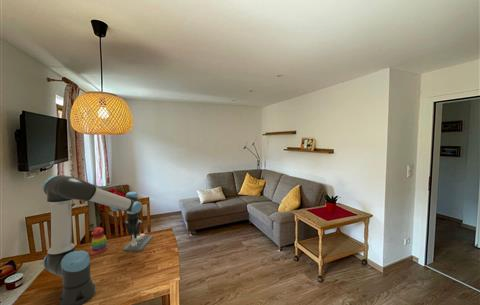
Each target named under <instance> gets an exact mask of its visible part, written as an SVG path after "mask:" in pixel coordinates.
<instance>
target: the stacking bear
mask: <svg viewBox="0 0 480 305" xmlns="http://www.w3.org/2000/svg"><path fill="white" fill-rule="evenodd" d="M91 236H92V239H91V242H90V243H91V244H90V245H91V251H90V252H89V256H95V255H99V254H102V253H104V252H105V251H107V249H108V248H107V236H106V235H105V234H104V228H103V227H100V226H97V227H95V228H94V230H93V231H92V232H91Z"/></svg>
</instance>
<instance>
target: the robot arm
mask: <svg viewBox="0 0 480 305" xmlns="http://www.w3.org/2000/svg"><path fill="white" fill-rule="evenodd" d="M42 190H43V192H44V193H45V195H46V202H47V203H48V204H50V248H49V249H48V250H47V253H46V255H45V256H44V258H43V261H42V266H43V268H44V269H45V270H46V271H47V272H48V273H51V274H53V275H56V276H58V277H60V278H62V290H61V291H62V292H61V294H60V297H59V305H83V304H85V303H86V302H88V301H89V300H90V299H92V298H93V297H94V295H95V294H96V285H95V283H94V282H93V279H92V274H91V273H92V272H91V258H90V253H89V252H87V251H86V250H81V249H80V250H76V244H74V243H72V202H73V201H74V200H77V201H82V202H89V201H90V202H94V203H97V204H101V205H104V206H107V207H109V208H110V210H111V211H112V212H118V211H122V212H123V211H124V212H126V216H127V218H126V220H125V221H124V222H123V223H124V225H125V227H126V232H127V234H128V235H130V238H131V241H132V243H135V242H136V238H137V236H138V234H139V233H140V230H141V224H142V223H143V221H142V220H140V218H139V213H140V211H141V210H142V208H143V204H142V203H141V201H139V196H138V192H136V191H128V192H127V193H126V194H125V196H121V195H118V194H116V193H114V192H113V193H112V192H110V191H107V190H106V189H105V190H104V189H101V188H99V187H97V185H95V184H93V183H91V182H88V181H86V180H83V179H82V178H79V177H77V176H68V175H65V174H59V175H58V174H57V175H52V176H51V177H48V178H47V179H46V180H45V181H44V182H43V184H42ZM91 297H92V298H91Z"/></svg>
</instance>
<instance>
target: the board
mask: <svg viewBox="0 0 480 305" xmlns="http://www.w3.org/2000/svg"><path fill="white" fill-rule="evenodd" d="M153 238H154V237H153V235H151V236H149V234H145V238H141V241H139V242H137V246H136V247H131V243H132V240H131V241H130V242H128V244H126V245H125V246H124V247H123V248H122V252H142V251H143V250H144V248H145V247H146V246H147V245H148V244H149V243H150V242H151V240H153Z"/></svg>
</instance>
